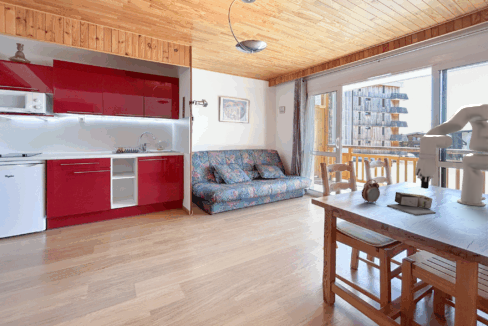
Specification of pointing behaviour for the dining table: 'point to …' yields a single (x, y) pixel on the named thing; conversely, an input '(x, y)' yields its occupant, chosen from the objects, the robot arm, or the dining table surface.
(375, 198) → the alarm clock
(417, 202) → the coffee box
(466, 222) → the dining table surface
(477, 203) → the robot arm
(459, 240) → the dining table surface
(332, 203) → the dining table surface
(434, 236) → the dining table surface
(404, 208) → the mat
